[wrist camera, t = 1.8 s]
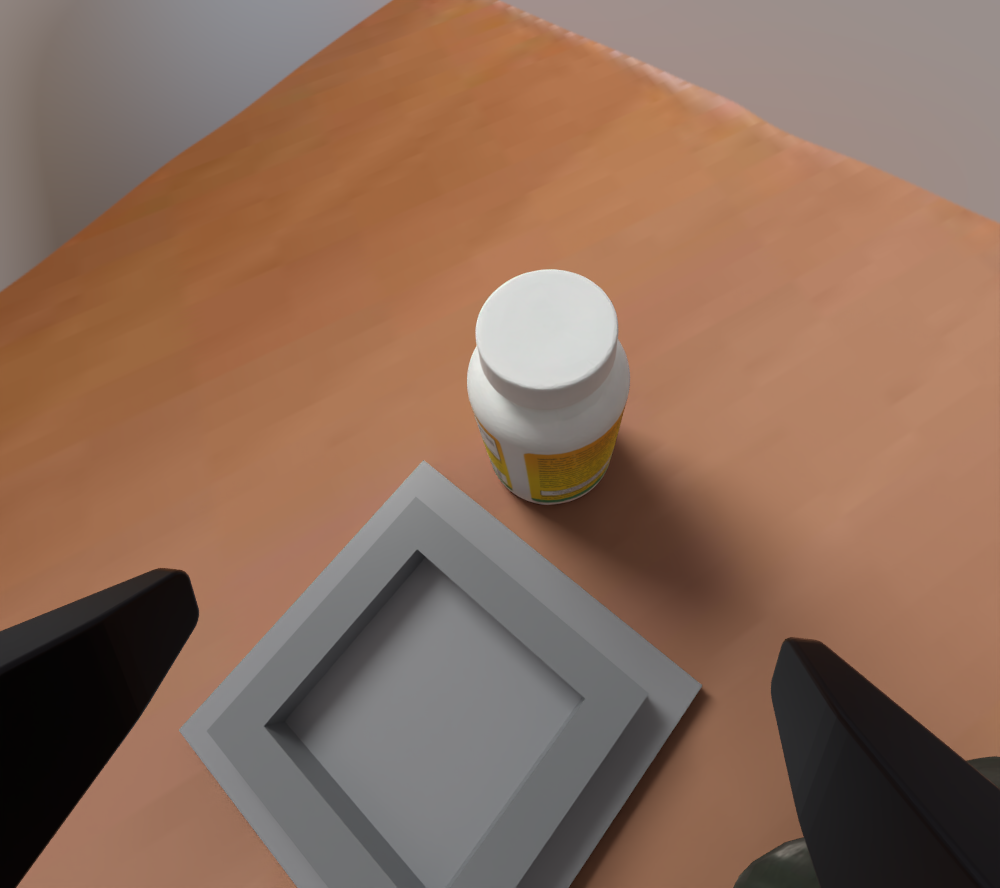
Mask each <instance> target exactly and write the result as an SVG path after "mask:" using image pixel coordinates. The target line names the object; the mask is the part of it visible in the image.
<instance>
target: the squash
mask: <svg viewBox="0 0 1000 888" xmlns="http://www.w3.org/2000/svg"><path fill="white" fill-rule="evenodd" d="M967 762H968V763H969V764H970V765H971V766H973V767H974V768H975V769H976V770H977V771H979V772H980V773H981V774H982V775H984V776H985V777H986V778H987V779H988V780H990V781H991V782H992V783H993V784H994V785H996V786H997V787H998V788H999V789H1000V757H996V756H994V757H985V758H978V759H973V760H968V761H967ZM733 888H820V885H819V882H818V879H817V876H816V873H815V870H814V867H813V864H812V861H811V858H810V855H809V852H808V849H807V845H806V842H805V839H804V838H799V839H796V840H792V841H789V842H785V843H783V844H782V845H780V846H778V847H777V848H775V849H773V850H772V851H770V852H768V853H766V854H765V855H763V856H762V857H760V858H758V859H757V860H755V861H753V862H752V863H751V864H750V865H749V866H748V867H747V868H746V869H745V870H744V872H743V873H742V874H741V875H740V876H739V878H738V880H737V882H736V883H735V885H734V887H733Z"/></svg>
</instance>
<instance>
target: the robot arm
mask: <svg viewBox="0 0 1000 888" xmlns="http://www.w3.org/2000/svg"><path fill="white" fill-rule="evenodd" d="M198 618H199V608H198V605H197V601H196V598H195V595H194V591H193V588H192V584H191V581H190V578H189V576H188V574H187V573H186V572H184V571H182V570H177V569H168V568H158V569H155V570H152V571H149V572H147V573H144V574H142V575H140V576H137V577H135V578H132V579H130V580H127V581H125V582H122V583H120V584H117V585H115V586H112V587H110V588H107V589H105V590H102V591H100V592H97V593H95V594H92V595H90V596H87V597H85V598H82V599H80V600H77V601H75V602H72V603H70V604H67V605H65V606H62V607H60V608H57V609H55V610H52V611H50V612H47V613H45V614H42V615H40V616H37V617H35V618H32V619H30V620H28V621H25V622H23V623H20V624H18V625H15V626H13V627H10V628H8V629H5V630H3V631H0V888H16V887H17V886H18V884H19V883H20V882H21V880H22V879H23V877H24V876H25V875H26V873H27V872H28V871H29V869H30V868H31V867H32V865H33V864H34V862H35V861H36V860H37V858H38V857H39V856H40V854H41V853H42V851H43V850H44V849H45V847H46V846H47V845H48V843H49V842H50V840H51V839H52V838H53V836H54V835H55V834H56V832H57V831H58V829H59V828H60V827H61V825H62V824H63V823H64V821H65V820H66V818H67V817H68V816H69V814H70V813H71V812H72V810H73V809H74V808H75V806H76V805H77V803H78V802H79V801H80V799H81V798H82V797H83V795H84V794H85V792H86V791H87V790H88V788H89V787H90V786H91V784H92V783H93V781H94V780H95V779H96V777H97V776H98V775H99V773H100V772H101V770H102V769H103V768H104V766H105V765H106V764H107V762H108V761H109V759H110V758H111V757H112V755H113V754H114V753H115V751H116V750H117V748H118V747H119V746H120V744H121V743H122V742H123V740H124V739H125V738H126V736H127V735H128V733H129V732H130V731H131V729H132V728H133V726H134V725H135V723H136V722H137V721H138V719H139V718H140V716H141V715H142V713H143V712H144V710H145V708H146V707H147V705H148V704H149V702H150V701H151V699H152V697H153V696H154V694H155V692H156V691H157V689H158V687H159V686H160V684H161V682H162V681H163V679H164V678H165V676H166V674H167V673H168V671H169V669H170V668H171V666H172V664H173V663H174V661H175V659H176V658H177V656H178V655H179V653H180V651H181V650H182V648H183V646H184V645H185V643H186V641H187V640H188V638H189V636H190V635H191V633H192V632H193V630H194V628H195V626H196V624H197V621H198ZM771 696H772V702H773V707H774V711H775V716H776V720H777V725H778V730H779V734H780V739H781V743H782V748H783V752H784V757H785V762H786V766H787V771H788V775H789V780H790V785H791V789H792V794H793V798H794V802H795V807H796V811H797V815H798V819H799V822H800V826H801V829H802V832H803V836H804V839H805V842H806V845H807V849H808V852H809V855H810V858H811V861H812V864H813V867H814V870H815V873H816V876H817V879H818V882H819V885H820V888H1000V789H999V788H998V787H997V786H996V785H994V784H993V783H992V782H991V781H990V780H988V779H987V778H986V777H985V776H984V775H982V774H981V773H980V772H979V771H977V770H976V769H975V768H974V767H973V766H971V765H970V764H969V763H968V762H967V761H965V760H964V759H963V758H962V757H961V756H959V755H958V754H957V753H956V752H954V751H953V750H952V749H951V748H950V747H948V746H947V745H946V744H945V743H944V742H942V741H941V740H940V739H939V738H937V737H936V736H935V735H934V734H933V733H931V732H930V731H929V730H928V729H927V728H925V727H924V726H923V725H922V724H921V723H919V722H918V721H917V720H916V719H914V718H913V717H912V716H911V715H910V714H908V713H907V712H906V711H905V710H904V709H902V708H901V707H900V706H899V705H897V704H896V703H895V702H894V701H893V700H891V699H890V698H889V697H888V696H887V695H885V694H884V693H883V692H882V691H881V690H879V689H878V688H877V687H876V686H874V685H873V684H872V683H871V682H870V681H868V680H867V679H866V678H865V677H864V676H862V675H861V674H860V673H859V672H857V671H856V670H855V669H854V668H853V667H851V666H850V665H849V664H848V663H847V662H845V661H844V660H843V659H842V658H841V657H839V656H838V655H837V654H836V653H834V652H833V651H832V650H831V649H830V648H828V647H827V646H826V645H825V644H823V643H822V642H820V641H817V640H812V639H803V638H794V637H790V638H787V639H785V641H784V642H783V644H782V646H781V650H780V653H779V657H778V660H777V664H776V667H775V671H774V674H773V678H772V682H771Z"/></svg>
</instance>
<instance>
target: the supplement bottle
mask: <svg viewBox="0 0 1000 888" xmlns="http://www.w3.org/2000/svg"><path fill="white" fill-rule="evenodd" d="M476 343H477V346H476V348H475V350H474V352H473V354H472V357H471V360H470V364H469V368H468V375H467V389H468V395H469V400H470V404H471V407H472V410H473V413H474V416H475V418H476V421H477V424H478V427H479V430H480V433H481V436H482V438H483V441H484V444H485V447H486V450H487V453H488V456H489V458H490V461H491V463H492V466H493V469H494V471H495V473H496V475H497V476H498V478H499V479H500V481H501V482H502V483H503V484H504V485H505V487H506V488H508V489H509V490H510V491H511V492H512V493H514V494H515V495H517V496H518V497H520V498H522V499H524V500H527V501H530V502H533V503H537V504H543V505H552V504H561V503H565V502H569V501H572V500H575V499H577V498H579V497H581V496H583V495H585V494H586V493H588V492H589V491H591V490H592V489H593V488H594V487H595V486H596V485H597V484H598V483H599V482H600V480H601V479H602V477H603V476H604V474H605V472H606V470H607V468H608V466H609V463H610V460H611V457H612V453H613V450H614V446H615V442H616V438H617V434H618V431H619V427H620V423H621V419H622V416H623V412H624V409H625V405H626V401H627V397H628V393H629V386H630V370H629V364H628V360H627V356H626V353H625V351H624V349H623V347H622V345H621V343H620V342H619V340H618V320H617V315H616V311H615V309H614V306H613V304H612V302H611V301H610V299H609V298H608V296H607V295H606V294H605V292H604V291H603V290H602V289H601V288H600V287H599V286H597V285H596V284H595V283H593V282H592V281H590V280H589V279H587V278H585V277H583V276H581V275H578V274H575V273H572V272H568V271H563V270H554V269H548V270H538V271H533V272H528V273H524V274H522V275H519V276H516V277H514V278H512V279H511V280H509V281H507V282H505V283H504V284H503V285H501V286H500V287H499V288H498V289H496V291H494V292H493V293H492V295H491V296H490V297H489V298H488V299H487V301H486V302H485V303H484V305H483V307H482V309H481V311H480V313H479V316H478V319H477V324H476Z"/></svg>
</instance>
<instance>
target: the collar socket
mask: <svg viewBox="0 0 1000 888" xmlns="http://www.w3.org/2000/svg"><path fill="white" fill-rule="evenodd" d="M701 687H702V685H701V684H700V683H699V682H697V681H696V680H695V679H694V678H693V677H691V676H690V675H689V674H688V673H686V672H685V671H684V670H683V669H681V668H680V667H679V666H678V665H676V664H675V663H674V662H673V661H671V660H670V659H669V658H668V657H667V656H665V655H664V654H663V653H662V652H660V651H659V650H658V649H657V648H655V647H654V646H653V645H652V644H650V643H649V642H648V641H647V640H646V639H644V638H643V637H642V636H641V635H639V634H638V633H637V632H636V631H634V630H633V629H632V628H631V627H629V626H628V625H627V624H626V623H624V622H623V621H622V620H621V619H620V618H618V617H617V616H616V615H615V614H613V613H612V612H611V611H610V610H608V609H607V608H606V607H605V606H603V605H602V604H601V603H600V602H598V601H597V600H596V599H595V598H594V597H592V596H591V595H590V594H589V593H587V592H586V591H585V590H584V589H582V588H581V587H580V586H579V585H577V584H576V583H575V582H574V581H573V580H571V579H570V578H569V577H568V576H566V575H565V574H564V573H563V572H561V571H560V570H559V569H558V568H556V567H555V566H554V565H553V564H551V563H550V562H549V561H548V560H547V559H545V558H544V557H543V556H542V555H540V554H539V553H538V552H537V551H535V550H534V549H533V548H532V547H530V546H529V545H528V544H527V543H526V542H524V541H523V540H522V539H521V538H519V537H518V536H517V535H516V534H514V533H513V532H512V531H511V530H509V529H508V528H507V527H506V526H504V525H503V524H502V523H501V522H500V521H498V520H497V519H496V518H495V517H493V516H492V515H491V514H490V513H488V512H487V511H486V510H485V509H483V508H482V507H481V506H480V505H478V504H477V503H476V502H475V501H474V500H472V499H471V498H470V497H469V496H467V495H466V494H465V493H464V492H462V491H461V490H460V489H459V488H457V487H456V486H455V485H454V484H453V483H451V482H450V481H449V480H448V479H446V478H445V477H444V476H443V475H441V474H440V473H439V472H438V471H436V470H435V469H434V468H433V467H431V466H430V465H429V464H428V463H427V462H425V461H424V460H423V461H422V463H421V464H420V465H419V466H418V467H417V468H416V469H415V470H414V471H413V472H412V474H411V475H410V476H409V477H408V478H407V479H406V480H405V481H404V482H403V483H402V485H401V486H400V487H399V488H398V489H397V490H396V491H395V492H394V493H393V495H392V496H391V497H390V498H389V499H388V500H387V501H386V502H385V503H384V504H383V506H382V507H381V508H380V509H379V510H378V511H377V512H376V513H375V514H374V515H373V517H372V518H371V519H370V520H369V521H368V522H367V523H366V524H365V525H364V526H363V528H362V529H361V530H360V531H359V532H358V533H357V534H356V535H355V536H354V538H353V539H352V540H351V541H350V542H349V543H348V544H347V545H346V546H345V547H344V549H343V550H342V551H341V552H340V553H339V554H338V555H337V556H336V557H335V558H334V560H333V561H332V562H331V563H330V564H329V565H328V566H327V567H326V568H325V569H324V571H323V572H322V573H321V574H320V575H319V576H318V577H317V578H316V579H315V580H314V582H313V583H312V584H311V585H310V586H309V587H308V588H307V589H306V590H305V592H304V593H303V594H302V595H301V596H300V597H299V598H298V599H297V600H296V601H295V603H294V604H293V605H292V606H291V607H290V608H289V609H288V610H287V611H286V612H285V614H284V615H283V616H282V617H281V618H280V619H279V620H278V621H277V622H276V623H275V625H274V626H273V627H272V628H271V629H270V630H269V631H268V632H267V633H266V634H265V636H264V637H263V638H262V639H261V640H260V641H259V642H258V643H257V644H256V646H255V647H254V648H253V649H252V650H251V651H250V652H249V653H248V654H247V655H246V657H245V658H244V659H243V660H242V661H241V662H240V663H239V664H238V665H237V666H236V668H235V669H234V670H233V671H232V672H231V673H230V674H229V675H228V676H227V677H226V679H225V680H224V681H223V682H222V683H221V684H220V685H219V686H218V687H217V689H216V690H215V691H214V692H213V693H212V694H211V695H210V696H209V697H208V698H207V700H206V701H205V702H204V703H203V704H202V705H201V706H200V707H199V708H198V709H197V711H196V712H195V713H194V714H193V715H192V716H191V717H190V718H189V719H188V720H187V722H186V723H185V724H184V725H183V726H182V727H181V728H180V729H179V731H180V732H181V734H182V735H183V736H184V738H185V739H186V740H187V742H188V743H189V744H190V746H191V747H192V748H193V750H194V751H195V752H196V754H197V755H198V756H199V758H200V759H201V760H202V762H203V763H204V764H205V766H206V767H207V768H208V770H209V771H210V772H211V774H212V775H213V776H214V777H215V779H216V780H217V781H218V783H219V784H220V785H221V787H222V788H223V789H224V791H225V792H226V793H227V795H228V796H229V797H230V799H231V800H232V801H233V803H234V804H235V805H236V807H237V808H238V809H239V811H240V812H241V813H242V815H243V816H244V817H245V819H246V820H247V821H248V823H249V824H250V825H251V826H252V828H253V829H254V830H255V832H256V833H257V834H258V836H259V837H260V838H261V840H262V841H263V842H264V844H265V845H266V846H267V848H268V849H269V850H270V852H271V853H272V854H273V856H274V857H275V858H276V860H277V861H278V862H279V864H280V865H281V866H282V868H283V869H284V870H285V872H286V873H287V874H288V875H289V877H290V878H291V879H292V881H293V882H294V883H295V885H296V886H297V887H298V888H569V886H570V885H571V883H572V882H573V880H574V879H575V877H576V876H577V874H578V873H579V871H580V870H581V868H582V866H583V865H584V863H585V862H586V860H587V859H588V857H589V856H590V854H591V853H592V851H593V850H594V848H595V847H596V845H597V844H598V842H599V841H600V839H601V838H602V836H603V835H604V833H605V832H606V830H607V829H608V827H609V826H610V824H611V823H612V821H613V820H614V818H615V817H616V815H617V814H618V812H619V811H620V809H621V808H622V806H623V805H624V803H625V802H626V800H627V799H628V797H629V796H630V794H631V792H632V791H633V789H634V788H635V786H636V785H637V783H638V782H639V780H640V779H641V777H642V776H643V774H644V773H645V771H646V770H647V768H648V767H649V765H650V764H651V762H652V761H653V759H654V758H655V756H656V755H657V753H658V752H659V750H660V749H661V747H662V746H663V744H664V743H665V741H666V740H667V738H668V737H669V735H670V734H671V732H672V731H673V729H674V728H675V726H676V725H677V723H678V722H679V720H680V719H681V717H682V715H683V714H684V712H685V711H686V709H687V708H688V706H689V705H690V703H691V702H692V700H693V699H694V697H695V696H696V694H697V693H698V691H699V690H700V688H701Z"/></svg>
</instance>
